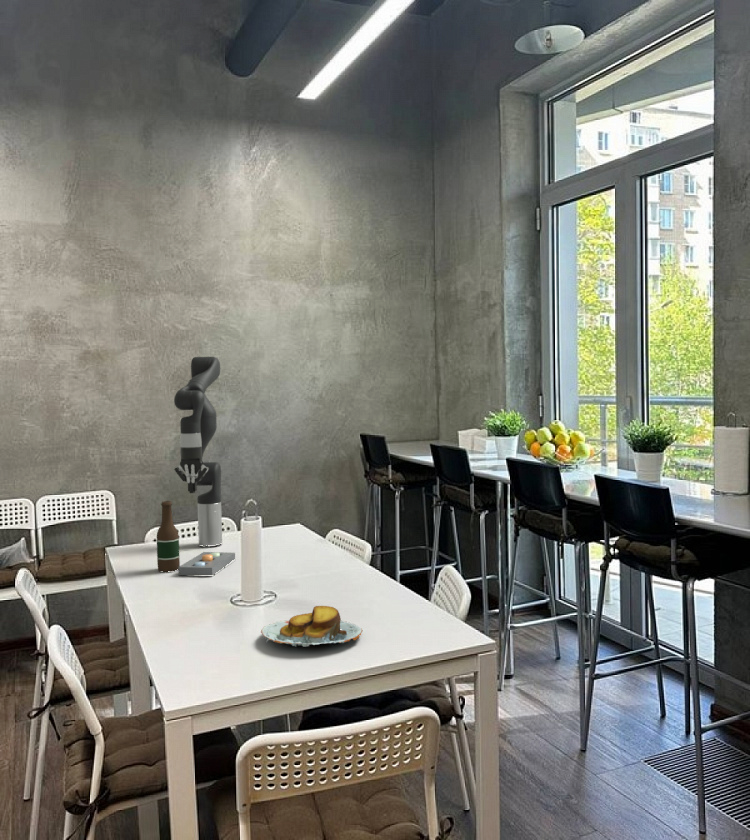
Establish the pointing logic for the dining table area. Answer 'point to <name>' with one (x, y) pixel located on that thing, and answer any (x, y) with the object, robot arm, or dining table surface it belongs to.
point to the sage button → (215, 554)
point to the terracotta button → (207, 557)
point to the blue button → (199, 564)
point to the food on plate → (312, 628)
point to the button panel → (206, 564)
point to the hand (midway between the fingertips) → (192, 493)
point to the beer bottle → (167, 541)
